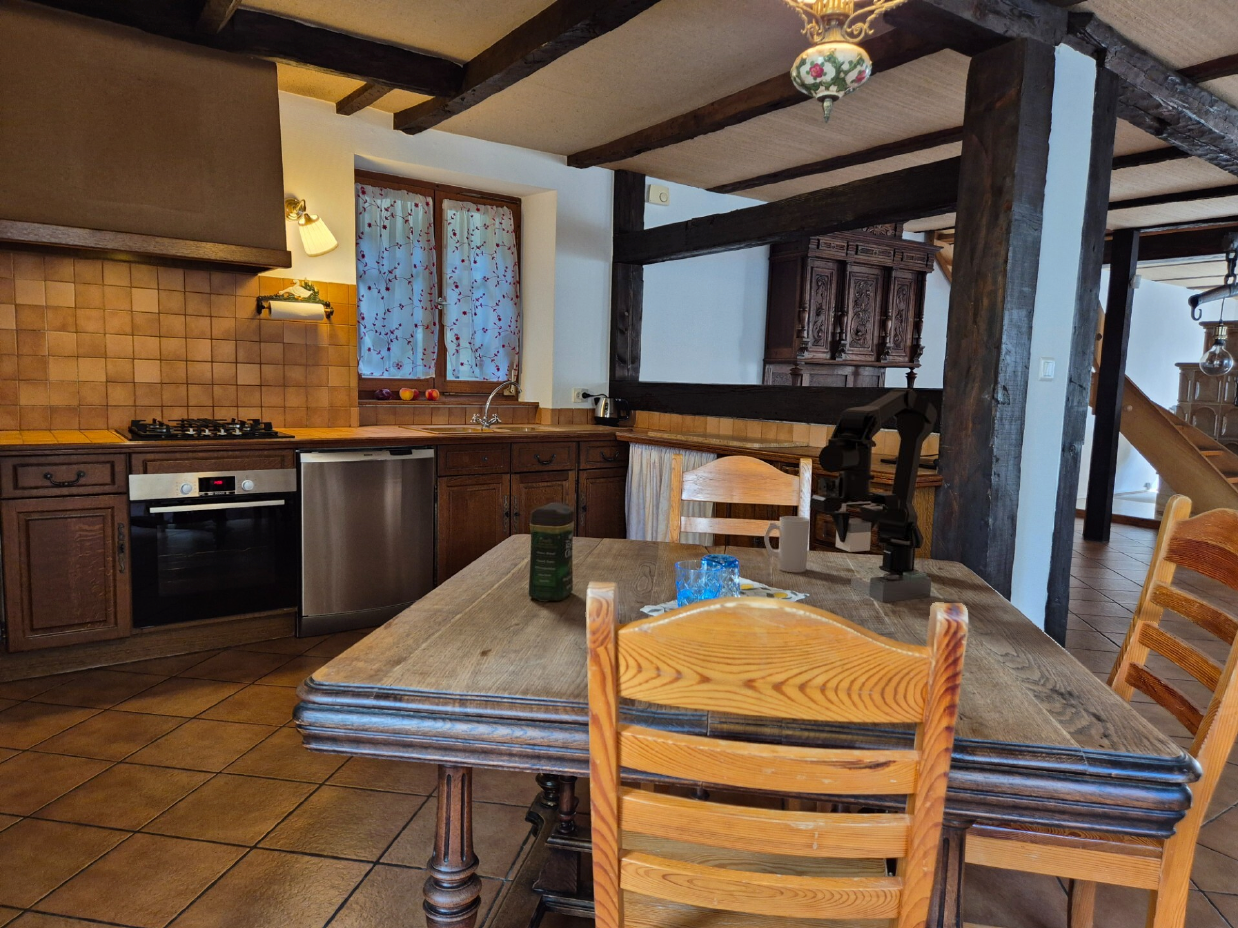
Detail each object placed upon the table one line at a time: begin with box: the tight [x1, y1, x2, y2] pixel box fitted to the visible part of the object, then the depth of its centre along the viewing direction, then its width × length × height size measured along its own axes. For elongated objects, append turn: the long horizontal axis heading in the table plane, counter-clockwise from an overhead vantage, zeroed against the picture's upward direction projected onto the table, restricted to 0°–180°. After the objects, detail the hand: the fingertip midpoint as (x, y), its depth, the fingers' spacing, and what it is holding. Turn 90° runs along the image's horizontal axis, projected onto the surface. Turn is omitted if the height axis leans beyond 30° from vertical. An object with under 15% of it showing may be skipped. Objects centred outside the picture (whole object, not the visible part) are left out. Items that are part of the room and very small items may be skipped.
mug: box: [763, 515, 811, 574], centre depth 177 cm, size 10×7×12 cm, turn 78°
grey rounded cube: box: [835, 517, 872, 553], centre depth 163 cm, size 5×5×6 cm
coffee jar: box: [528, 502, 575, 602], centre depth 151 cm, size 10×8×19 cm
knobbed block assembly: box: [850, 570, 932, 603], centre depth 159 cm, size 11×12×5 cm
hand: (853, 541), depth 163 cm, fingers closed on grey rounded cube, 5 cm apart
